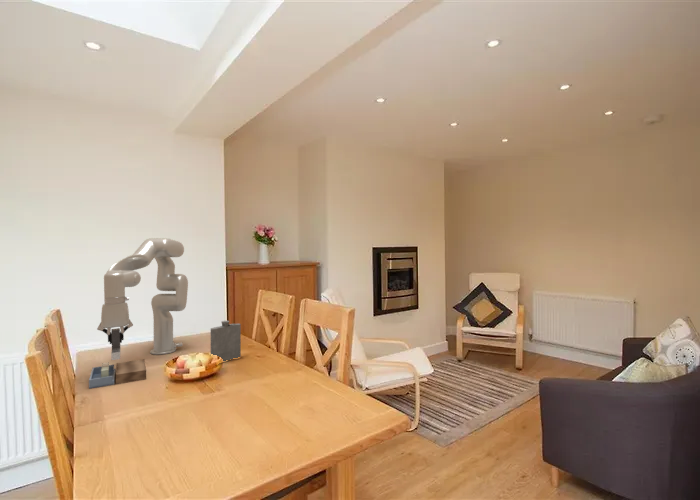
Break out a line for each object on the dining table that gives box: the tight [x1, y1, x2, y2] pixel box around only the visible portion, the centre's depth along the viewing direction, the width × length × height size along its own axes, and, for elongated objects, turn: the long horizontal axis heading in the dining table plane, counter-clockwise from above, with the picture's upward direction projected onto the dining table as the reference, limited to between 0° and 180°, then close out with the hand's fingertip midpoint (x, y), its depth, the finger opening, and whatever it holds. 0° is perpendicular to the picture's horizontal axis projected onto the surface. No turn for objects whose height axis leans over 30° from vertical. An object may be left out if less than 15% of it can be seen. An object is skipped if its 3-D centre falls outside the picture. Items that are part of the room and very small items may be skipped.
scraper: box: [110, 327, 122, 361], centre depth 157 cm, size 3×16×11 cm, turn 32°
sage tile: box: [101, 367, 109, 378], centre depth 151 cm, size 5×5×2 cm
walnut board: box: [115, 358, 147, 385], centre depth 159 cm, size 11×18×4 cm, turn 32°
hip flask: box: [210, 320, 242, 361], centre depth 180 cm, size 16×4×20 cm, turn 139°
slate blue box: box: [88, 364, 116, 389], centre depth 154 cm, size 8×18×4 cm, turn 32°
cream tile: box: [101, 361, 110, 368], centre depth 157 cm, size 5×5×2 cm
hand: (115, 342), depth 157 cm, fingers closed on scraper, 3 cm apart
